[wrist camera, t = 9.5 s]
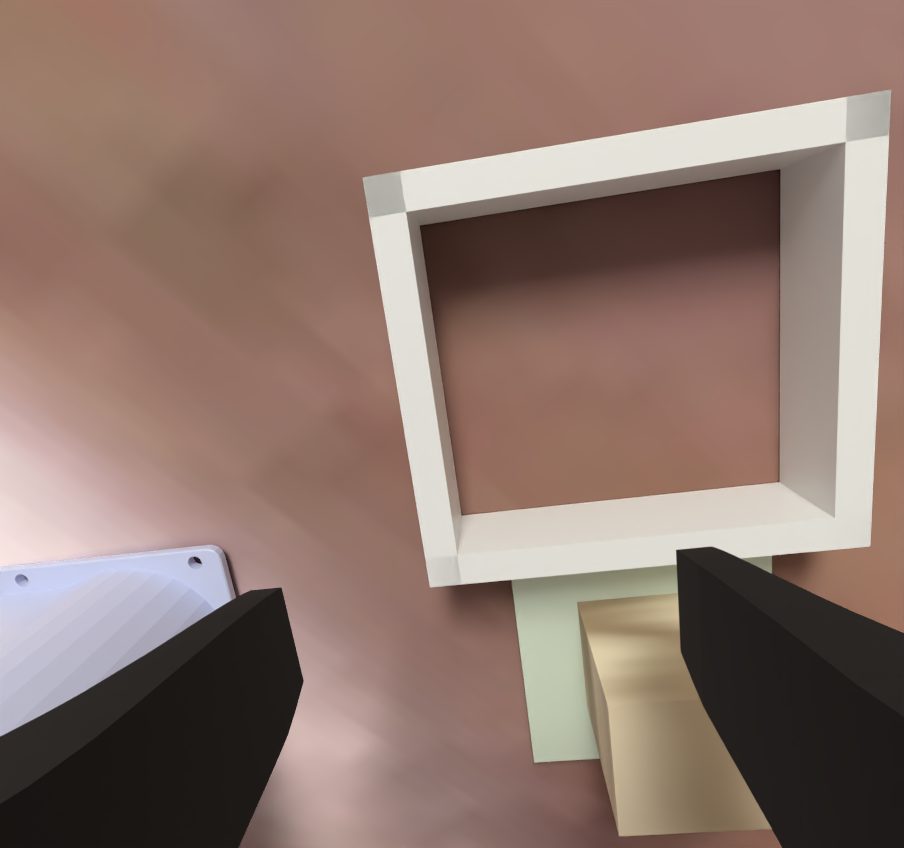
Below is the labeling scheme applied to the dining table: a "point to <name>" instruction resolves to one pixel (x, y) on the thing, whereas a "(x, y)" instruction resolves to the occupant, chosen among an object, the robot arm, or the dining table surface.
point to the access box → (801, 340)
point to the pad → (572, 649)
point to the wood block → (656, 725)
